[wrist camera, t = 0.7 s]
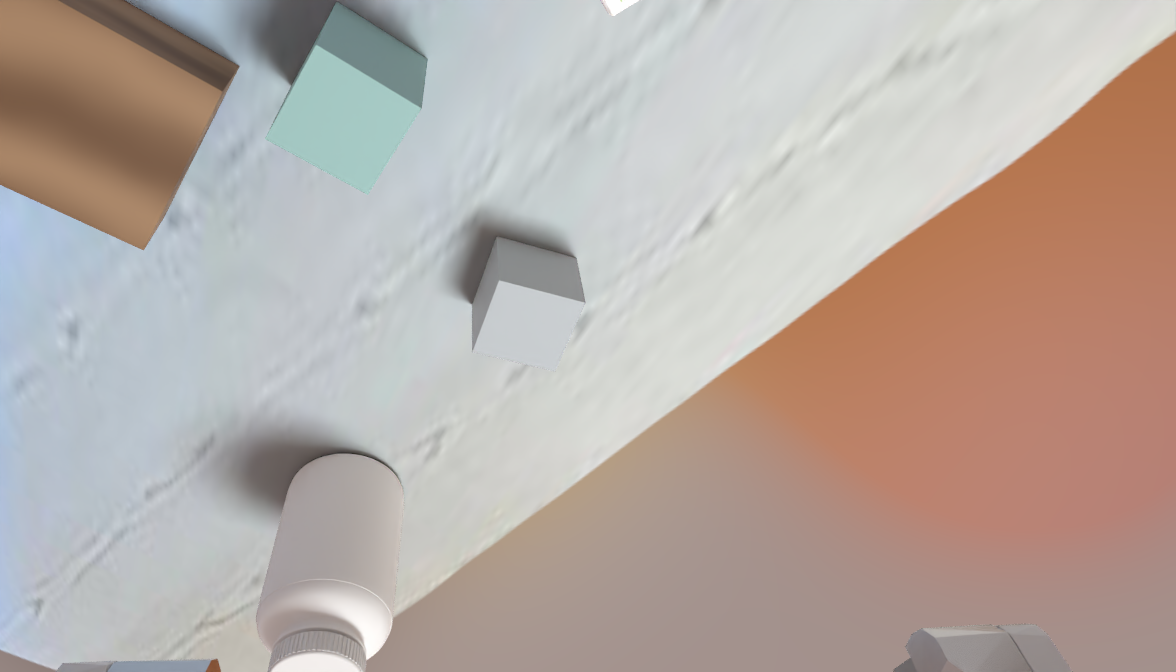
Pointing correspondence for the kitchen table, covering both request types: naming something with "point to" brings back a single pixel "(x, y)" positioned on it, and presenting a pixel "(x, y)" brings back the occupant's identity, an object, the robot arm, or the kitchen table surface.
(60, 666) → the robot arm
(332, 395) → the kitchen table surface
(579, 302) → the grey block
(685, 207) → the kitchen table surface
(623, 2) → the syrup box
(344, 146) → the teal block
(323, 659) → the pill bottle
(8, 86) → the base block
